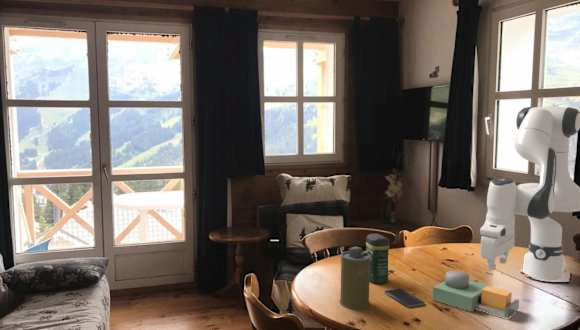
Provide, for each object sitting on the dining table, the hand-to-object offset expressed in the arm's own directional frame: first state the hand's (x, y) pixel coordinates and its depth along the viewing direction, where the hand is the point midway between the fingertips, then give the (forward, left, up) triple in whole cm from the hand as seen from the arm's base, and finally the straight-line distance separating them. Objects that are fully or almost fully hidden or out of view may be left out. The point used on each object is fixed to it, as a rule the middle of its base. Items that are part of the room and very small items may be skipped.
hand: (497, 266), depth 156 cm
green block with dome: (0, -12, -15) cm, 19 cm away
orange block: (0, 0, -15) cm, 15 cm away
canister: (+30, -37, -16) cm, 50 cm away
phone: (+14, -27, -16) cm, 34 cm away
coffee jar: (+5, -45, -16) cm, 48 cm away
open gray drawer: (0, 0, -15) cm, 15 cm away
